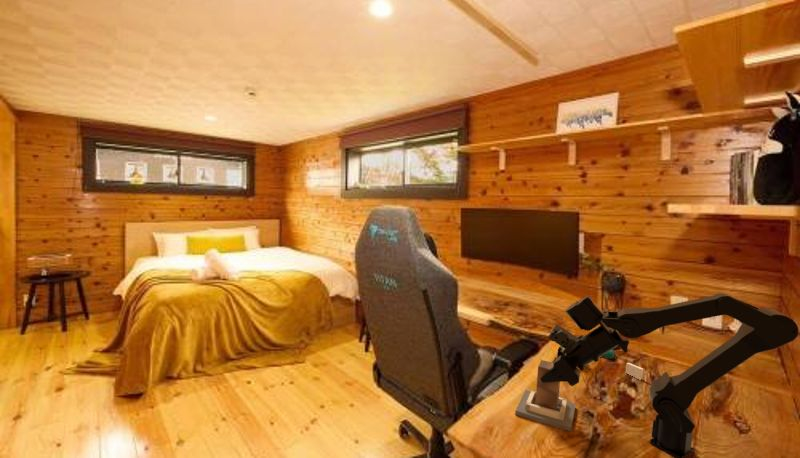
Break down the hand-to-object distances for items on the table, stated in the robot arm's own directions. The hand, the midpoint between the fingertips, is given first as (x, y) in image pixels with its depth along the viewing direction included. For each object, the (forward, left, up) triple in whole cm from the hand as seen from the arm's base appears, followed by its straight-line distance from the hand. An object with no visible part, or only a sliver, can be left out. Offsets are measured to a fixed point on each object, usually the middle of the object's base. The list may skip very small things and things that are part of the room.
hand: (543, 376), depth 99 cm
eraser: (+1, -46, -9) cm, 47 cm away
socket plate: (-1, -1, -9) cm, 9 cm away
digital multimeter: (+20, -53, -9) cm, 57 cm away
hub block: (-1, -1, -7) cm, 7 cm away
